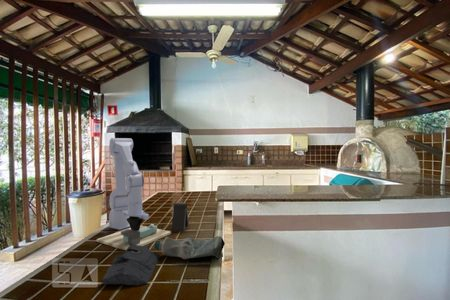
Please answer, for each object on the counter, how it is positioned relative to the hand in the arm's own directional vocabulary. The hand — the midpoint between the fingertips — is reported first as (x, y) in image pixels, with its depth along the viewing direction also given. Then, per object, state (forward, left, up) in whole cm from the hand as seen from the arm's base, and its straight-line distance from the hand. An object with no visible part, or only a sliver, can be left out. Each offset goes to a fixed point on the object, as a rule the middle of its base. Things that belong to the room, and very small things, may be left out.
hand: (135, 233), depth 106 cm
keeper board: (-2, +1, -2) cm, 3 cm away
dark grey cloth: (+20, -18, -3) cm, 28 cm away
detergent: (+31, -2, -3) cm, 31 cm away
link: (+3, +1, -1) cm, 3 cm away
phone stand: (+7, +21, -2) cm, 22 cm away
